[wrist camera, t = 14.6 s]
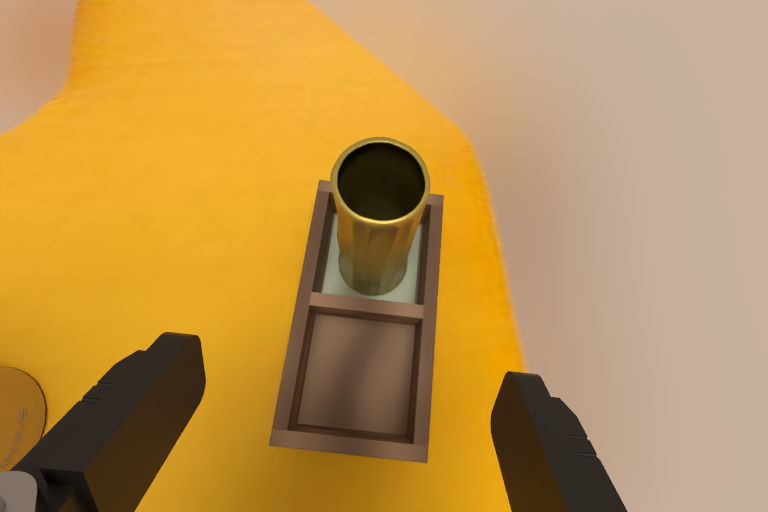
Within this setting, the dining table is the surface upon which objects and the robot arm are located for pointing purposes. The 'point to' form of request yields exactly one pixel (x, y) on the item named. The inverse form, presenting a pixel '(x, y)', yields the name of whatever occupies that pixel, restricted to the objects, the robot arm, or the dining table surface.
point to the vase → (377, 211)
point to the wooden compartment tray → (360, 350)
